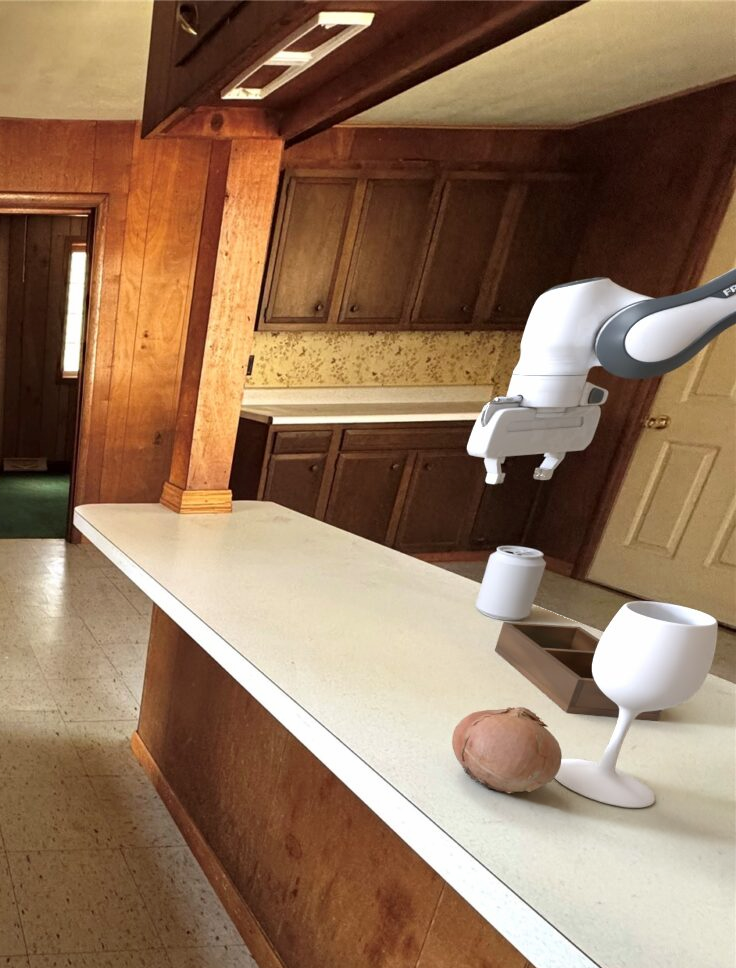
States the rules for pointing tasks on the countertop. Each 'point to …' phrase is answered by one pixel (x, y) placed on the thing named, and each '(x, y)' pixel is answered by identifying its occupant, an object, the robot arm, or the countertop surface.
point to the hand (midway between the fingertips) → (517, 481)
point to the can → (510, 582)
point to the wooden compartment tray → (559, 666)
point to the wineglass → (642, 686)
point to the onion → (507, 749)
